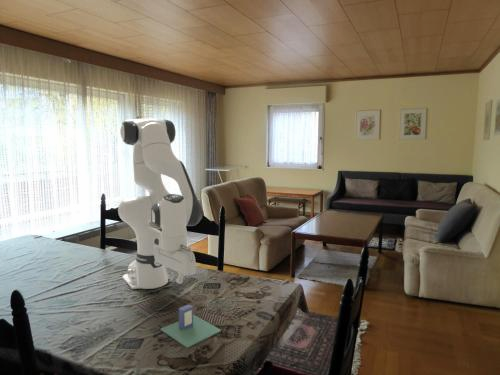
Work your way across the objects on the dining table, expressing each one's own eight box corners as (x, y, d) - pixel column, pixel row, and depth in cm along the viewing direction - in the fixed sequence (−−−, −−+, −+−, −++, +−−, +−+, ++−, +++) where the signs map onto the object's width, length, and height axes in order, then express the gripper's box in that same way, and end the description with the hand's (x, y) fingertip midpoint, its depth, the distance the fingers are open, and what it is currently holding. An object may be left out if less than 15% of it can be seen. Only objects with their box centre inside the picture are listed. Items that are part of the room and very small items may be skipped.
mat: (160, 329, 123) (160, 328, 122) (193, 315, 133) (193, 314, 133) (187, 348, 112) (187, 347, 112) (221, 331, 122) (221, 330, 122)
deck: (188, 323, 126) (188, 304, 125) (193, 325, 125) (193, 306, 124) (178, 327, 123) (178, 308, 122) (183, 330, 122) (182, 310, 121)
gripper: (200, 247, 120) (200, 286, 122) (165, 234, 134) (166, 270, 136) (184, 251, 115) (185, 292, 117) (150, 237, 129) (151, 274, 131)
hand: (174, 280), depth 126 cm, fingers open, 4 cm apart
